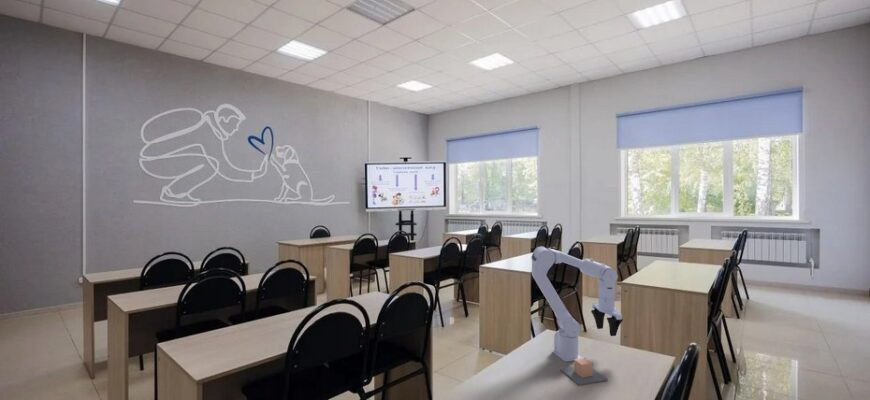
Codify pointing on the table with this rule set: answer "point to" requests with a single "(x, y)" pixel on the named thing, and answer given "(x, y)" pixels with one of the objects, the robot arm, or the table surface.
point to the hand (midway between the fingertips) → (606, 332)
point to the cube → (583, 367)
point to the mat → (583, 380)
